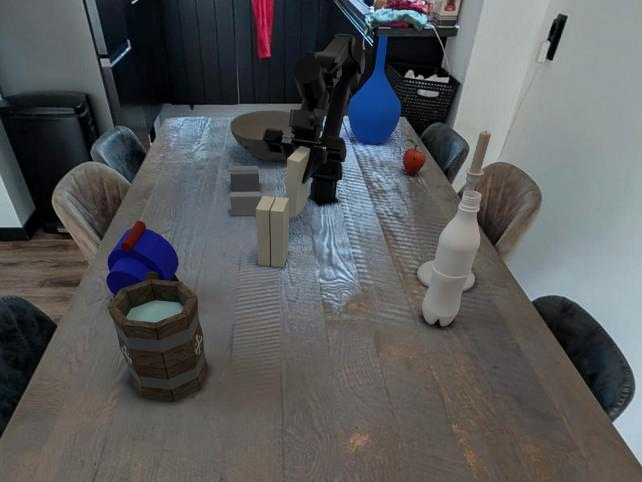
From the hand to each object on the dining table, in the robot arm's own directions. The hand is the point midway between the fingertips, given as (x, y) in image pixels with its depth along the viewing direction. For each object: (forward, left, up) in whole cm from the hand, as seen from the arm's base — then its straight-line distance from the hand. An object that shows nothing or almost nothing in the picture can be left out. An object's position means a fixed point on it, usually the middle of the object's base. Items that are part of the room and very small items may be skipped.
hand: (296, 182), depth 108 cm
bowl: (-19, -55, -14) cm, 60 cm away
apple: (-53, -24, -14) cm, 60 cm away
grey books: (+2, -28, -14) cm, 31 cm away
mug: (+42, +32, -14) cm, 54 cm away
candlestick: (-23, +30, -14) cm, 40 cm away
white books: (+9, +6, -14) cm, 17 cm away
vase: (-59, -56, -14) cm, 83 cm away
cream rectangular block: (-1, -2, -7) cm, 7 cm away
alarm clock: (+40, +10, -14) cm, 43 cm away
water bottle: (-11, +42, -14) cm, 46 cm away
